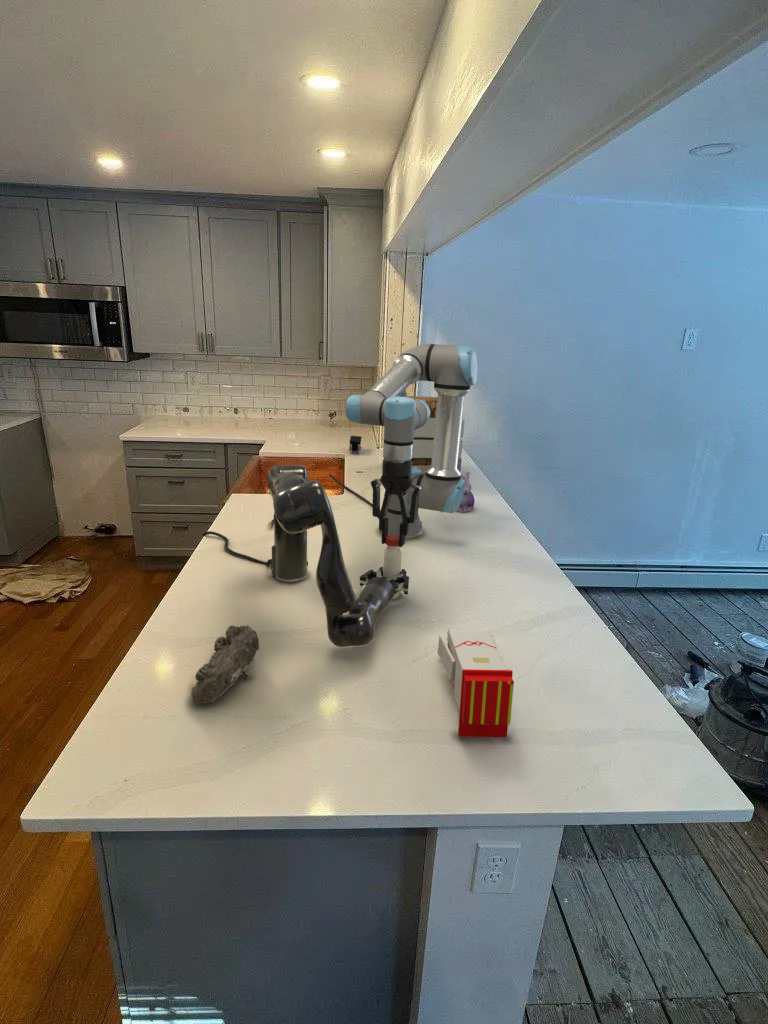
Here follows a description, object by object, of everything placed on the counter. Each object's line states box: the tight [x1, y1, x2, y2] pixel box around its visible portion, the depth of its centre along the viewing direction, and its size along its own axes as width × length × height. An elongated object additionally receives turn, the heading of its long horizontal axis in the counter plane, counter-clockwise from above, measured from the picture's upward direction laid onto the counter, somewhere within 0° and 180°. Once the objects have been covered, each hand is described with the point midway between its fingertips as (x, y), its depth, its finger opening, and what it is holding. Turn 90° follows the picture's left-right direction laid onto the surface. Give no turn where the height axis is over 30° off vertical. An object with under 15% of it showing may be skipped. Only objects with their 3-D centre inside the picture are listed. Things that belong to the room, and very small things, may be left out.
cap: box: [384, 534, 399, 547], centre depth 152 cm, size 4×4×2 cm
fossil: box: [191, 624, 260, 705], centre depth 119 cm, size 22×10×15 cm
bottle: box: [382, 545, 403, 600], centre depth 154 cm, size 5×5×17 cm
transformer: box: [383, 389, 465, 473], centre depth 268 cm, size 34×33×41 cm
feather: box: [266, 518, 274, 529], centre depth 211 cm, size 2×28×2 cm
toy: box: [437, 628, 515, 738], centre depth 117 cm, size 12×13×30 cm
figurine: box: [455, 471, 476, 513], centre depth 225 cm, size 9×10×15 cm
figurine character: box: [348, 435, 363, 455], centre depth 309 cm, size 7×8×15 cm
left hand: (394, 570), depth 157 cm, fingers closed on bottle, 5 cm apart
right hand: (393, 543), depth 152 cm, fingers closed on cap, 4 cm apart
